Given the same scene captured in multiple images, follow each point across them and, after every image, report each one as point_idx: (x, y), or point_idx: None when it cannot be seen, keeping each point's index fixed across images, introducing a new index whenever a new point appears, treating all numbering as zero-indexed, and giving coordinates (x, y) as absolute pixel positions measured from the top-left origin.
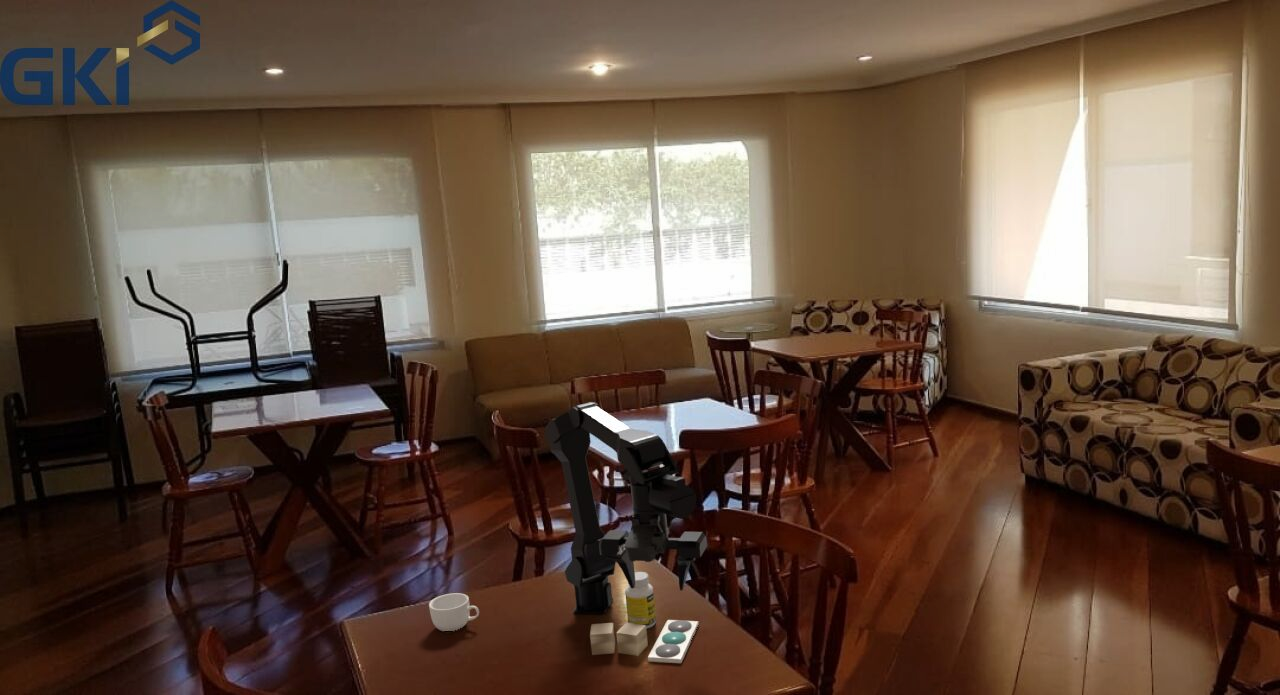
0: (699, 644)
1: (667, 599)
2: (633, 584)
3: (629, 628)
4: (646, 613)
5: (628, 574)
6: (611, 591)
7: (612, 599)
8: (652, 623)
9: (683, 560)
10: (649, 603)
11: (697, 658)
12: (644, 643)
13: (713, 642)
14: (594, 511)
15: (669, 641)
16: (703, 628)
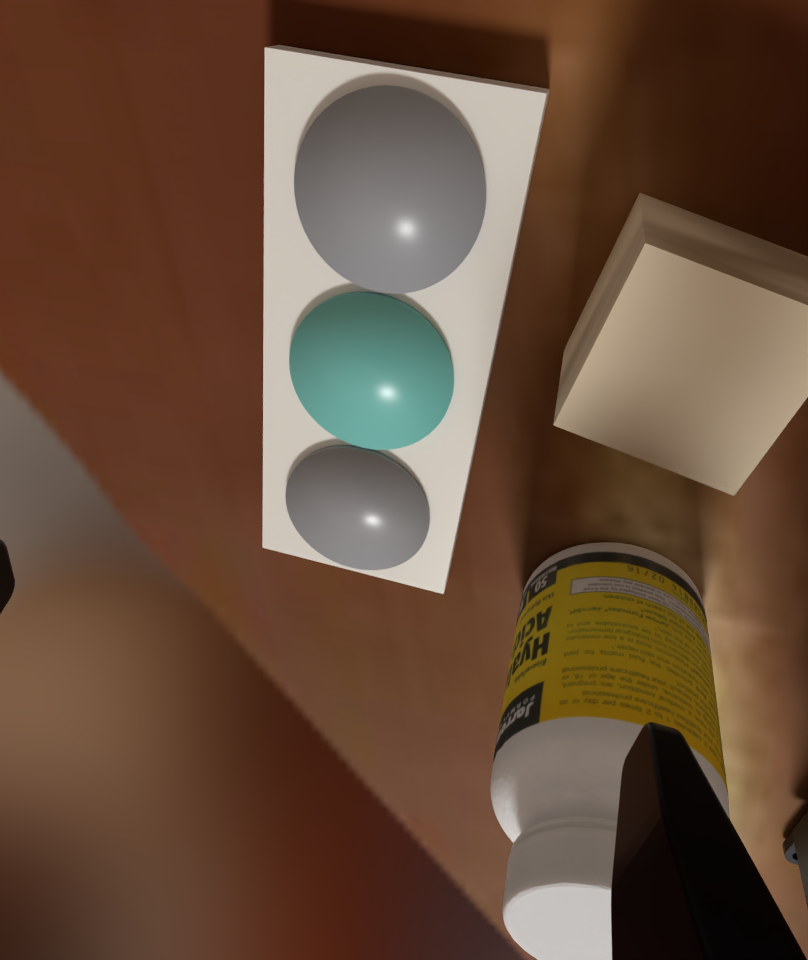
0: (217, 322)
1: (476, 780)
2: (641, 778)
3: (710, 388)
4: (562, 617)
5: None
6: (804, 892)
7: (787, 847)
8: (536, 574)
9: None
10: (529, 679)
11: (182, 127)
12: (583, 321)
13: (141, 338)
14: None
15: (392, 326)
16: (239, 498)
